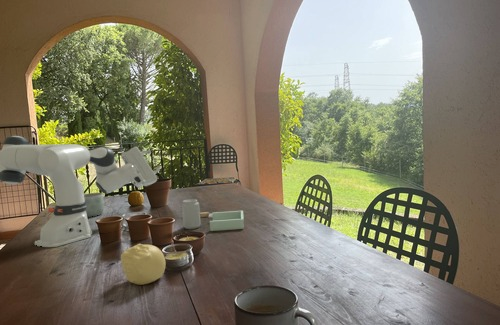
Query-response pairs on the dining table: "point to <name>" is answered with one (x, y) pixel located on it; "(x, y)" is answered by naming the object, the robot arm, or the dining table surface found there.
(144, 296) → the dining table surface
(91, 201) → the planter
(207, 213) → the scraper
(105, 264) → the dining table surface
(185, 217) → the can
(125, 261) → the pomelo
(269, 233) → the dining table surface
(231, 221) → the frame
